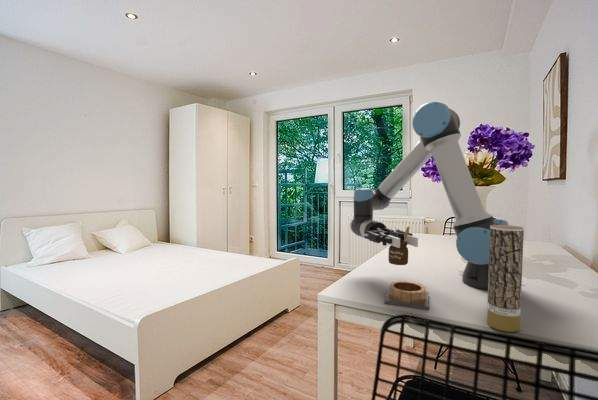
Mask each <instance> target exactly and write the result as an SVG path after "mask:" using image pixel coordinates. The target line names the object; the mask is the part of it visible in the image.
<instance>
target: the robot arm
mask: <svg viewBox="0 0 598 400" xmlns="http://www.w3.org/2000/svg"><path fill="white" fill-rule="evenodd" d="M460 126H461V121H460V116H459V115H458V113H457V112H456V111H454V110H453V109H451V107H450V108H449V106H448V105H447V104H445V103H443V102H439V101H430V102H426V103H425V104H422V105H420V107H419V108H418V109H417V110H416V111H415V112H414V115H413V118H412V129H413V130H414V132H415V134H416V135H417V136H419V140H418V142H417V143H416V144H415V145H414V146H413V147H412V148H411V149H410V151H409V152H408V153H407V154H406V155H405V156H404V157H403V159H402V160H401V161H400V162H399V163H398V164H397V165H396V166H395V167H394V169H393V170H392V171H391V172H389V174H388V175H387V176H386V178H384V180H383V181H382V182H381V183H380V184H379V186H378V187H377V188H376V189H375V190H373V189H372V188H355V189H354V190H353V219H352V220H351V222H350V225H349V227H350V230H351V232H352V233H353V234H355V235H356V236H358V237H361V238H364V239H365V240H368V241H369V242H373V243H376V244H381V243H382V246H387V245H389V246H391V245H392V246H394V247H397V248H400V240H404V239H405V236H404V235H405V232H406V231H403V230H400V229H397V228H396V229H397V230H396V229H390V228H388V227H387V226H386V225H385V224H384V223H383V222H380V221H377V220H373V219H374V216H373V215H374V211H381V210H384V209H386V208H388V207H389V206H390V204H391V200H392V199H393V198H394V197H395V196H396V195H397V194H398V193H399V192H400V190H401V189H402V188H404V186H405V185H406V184H408V182H409V181H410V180H411V179H412V178H413V177H414V176H415V175H416V174H417V172H418V171H420V170H421V168H422V167H423V166H424V165H425V164H427V162H428V161H429V160H430V159H431V158H433V161H434V164H435V166H436V169H437V172H438V174H439V176H440V180H441V183H442V185H443V188H444V191H445V193H446V196H447V199H448V202H449V205H450V207H451V210H452V213H453V215H454V218H455V219H454V220H455V221H454V222H453V224H452V227H453V230H454V233H455V236H456V241H455V247H456V250H457V253H458V254H459V255H460V257H461V258H463V259H464V260H466V261H467V263H466V265H465V267H464V269H463V272H462V275H461V277H462V278H461V279H462V282H463V283H464V284H466V285H467V286H470V287H473V288H477V289H482V290H487V291H488V273H489V242H490V227H491V226H490V225H509V222H508V221H507V220H505V219H498V218H497V219H496V218H494V216H493V215H492V214H491V213H488V212H486V210H485V208H484V206H483V203H482V200H481V199H480V196H479V193H478V190H477V188H476V186H475V185H476V184H475V181H474V180H473V177H472V175H471V172H470V170H469V169H470V168H469V167H468V164H467V162H466V159H465V156H464V154H463V151H462V149H461V147H460V143H459V140H460V138H461V136H462V135H461V132H460V128H461V127H460ZM390 231H391V232H390ZM394 231H395V232H394ZM397 232H398V233H397ZM397 235H398V238H397ZM405 241H407V245H409V246H411V247H414V248H415V247H416V248H418V247H419V237H417V236H413V233H411V232H410V231H409V232H408V236H407V237H406V240H405Z"/></svg>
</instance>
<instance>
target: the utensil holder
mask: <svg viewBox="0 0 598 400" xmlns="http://www.w3.org/2000/svg"><path fill="white" fill-rule="evenodd" d="M410 228H411V226H406V229H405V231H404V232H405V235H404V236H405V239H404V240H400V248H397V247H394V246H392V245H389V247H388V263H390V264H391V265H395V266H406V265H408V264H409V263H408V262H409V249H408V244H407V241H405V240H406V237H407V236H408V232H409V233H410ZM391 230H394V232H395V230H397V228H396V227H392V228H391ZM390 232H391V231H390ZM397 233H398V232H397ZM397 238H398V235H397Z"/></svg>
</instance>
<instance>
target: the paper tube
mask: <svg viewBox="0 0 598 400" xmlns="http://www.w3.org/2000/svg"><path fill="white" fill-rule="evenodd" d="M490 226H491V227H490V242H489V273H488V290H487V303H486V304H487V306H486V307H487V310H486V311H487V312H486V314H487V315H486V322H487V324H488V325H489V326H490V328H492V329H494V330H497V331H501V332H505V333H516V332H518V331H519V330H520V328H521V313H522V311H521V309H522V307H521V306H522V281H523V258H524V232H525V230H524V227H523V226H518V225H510V224H508V225H490Z"/></svg>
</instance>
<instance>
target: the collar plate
mask: <svg viewBox="0 0 598 400" xmlns="http://www.w3.org/2000/svg"><path fill="white" fill-rule="evenodd" d="M426 288H427V287H426V286H424V285H423V284H422V283H421V284H420V283H419V282H418V283H417V282H413V281H406V280H397V281H392V282H390V283H389V285H388V290H387V292H386V295H385V298H384V300H383V302H384V304H385V305H391V306H392V305H393V306H398V307H405V308H412V309H419V310H425V311H426V310H427V311H429V292H428V291H426V290H427V289H426Z"/></svg>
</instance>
